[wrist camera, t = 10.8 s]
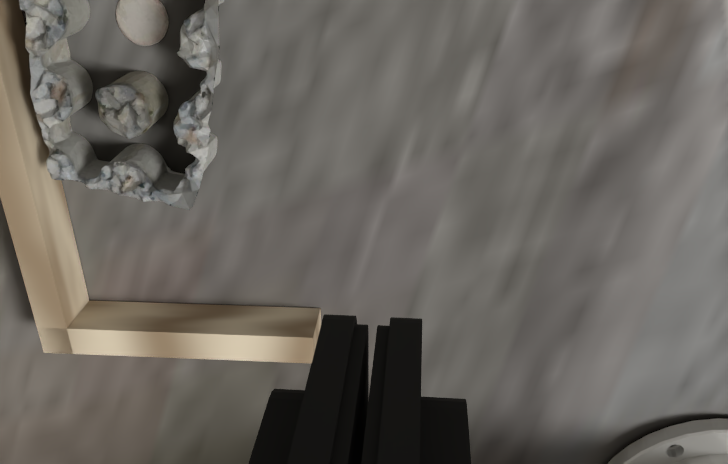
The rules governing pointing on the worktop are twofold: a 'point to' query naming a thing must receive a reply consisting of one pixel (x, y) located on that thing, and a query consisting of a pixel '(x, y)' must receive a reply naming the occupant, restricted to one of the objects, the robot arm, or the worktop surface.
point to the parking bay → (64, 272)
